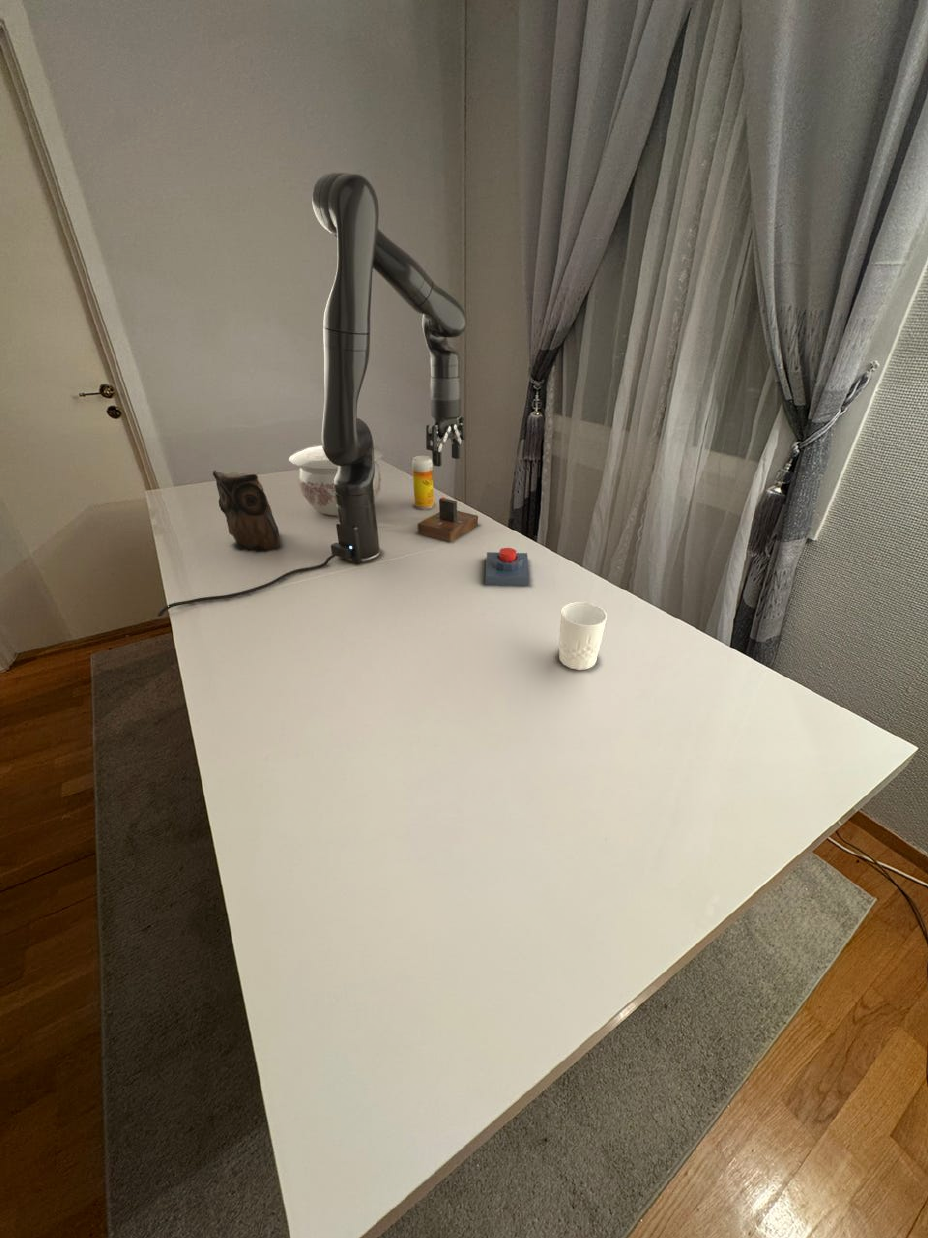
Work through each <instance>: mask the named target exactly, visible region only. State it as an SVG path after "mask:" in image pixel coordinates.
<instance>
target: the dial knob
mask: <svg viewBox="0 0 928 1238" xmlns="http://www.w3.org/2000/svg"><path fill="white" fill-rule="evenodd" d="M438 509H439V511H438V512H439V515H440V518H441V519H445V520H449V521H453V522H455V521H456V520H457V511H458V501H457V500H453V499H448V498H446V497H440V498H439V499H438Z"/></svg>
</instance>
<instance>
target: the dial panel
mask: <svg viewBox="0 0 928 1238" xmlns="http://www.w3.org/2000/svg"><path fill="white" fill-rule="evenodd" d="M478 526H479V515H477V514H472V513H469V512H464V511H460V510H457V520H456V521H455V522H453V521H449V520H445V519H441V518H440V515H439V511H438V512H437V513H435V514H433V515H431V516H429V517H427V518H425V519H423V520H421V521H420V522H418V523H417V533H418V534H419V535H422V536H426V537H430V538H434V539H438V540H441V541H444V542H448V543H451V542H453V541H455V540H457V539H458V538H459V537H461V536H464V534H466V533H468V532H470V531H471V530H473V529H474V528H476V527H478Z"/></svg>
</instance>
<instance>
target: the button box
mask: <svg viewBox="0 0 928 1238" xmlns="http://www.w3.org/2000/svg"><path fill="white" fill-rule="evenodd" d="M485 568H486V569H485V582H484V583H485V586H517V587H519V586H520V587H529V586H530V570H529V569H530V568H529V559H528V553H527V552H516V560H515V561H512V562H504V561H500V560H499V551H498V552H493V551H492V552H491V551H488V552H486V563H485Z"/></svg>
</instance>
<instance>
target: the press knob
mask: <svg viewBox="0 0 928 1238" xmlns="http://www.w3.org/2000/svg"><path fill="white" fill-rule="evenodd" d="M498 552H499V560H500V561H504V562H512V561H515V560H516V553H517V550H516V549H514V548H512V547H502V548H500V549H499V551H498Z"/></svg>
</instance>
